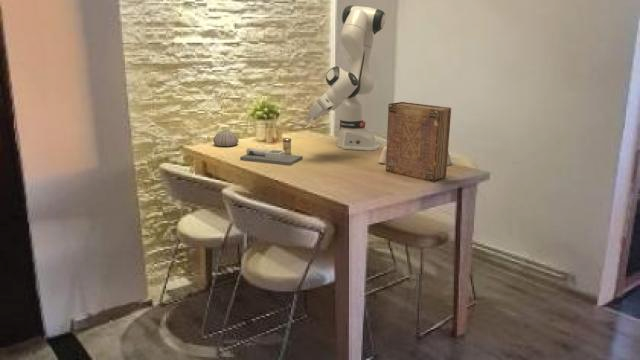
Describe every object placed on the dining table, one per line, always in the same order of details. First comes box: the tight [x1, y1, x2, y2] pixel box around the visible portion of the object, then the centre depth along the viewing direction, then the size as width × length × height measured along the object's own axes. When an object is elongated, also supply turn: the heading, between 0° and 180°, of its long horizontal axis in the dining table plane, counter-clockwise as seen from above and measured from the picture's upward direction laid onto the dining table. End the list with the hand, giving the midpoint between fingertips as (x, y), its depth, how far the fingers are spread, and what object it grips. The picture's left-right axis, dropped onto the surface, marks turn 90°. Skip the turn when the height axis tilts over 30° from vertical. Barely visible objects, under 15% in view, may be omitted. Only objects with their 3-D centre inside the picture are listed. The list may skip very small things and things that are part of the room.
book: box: [385, 101, 452, 183], centre depth 234 cm, size 25×9×30 cm, turn 46°
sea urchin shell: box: [212, 129, 239, 147], centre depth 292 cm, size 13×14×8 cm
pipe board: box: [239, 147, 304, 166], centre depth 261 cm, size 26×14×4 cm, turn 68°
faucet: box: [378, 145, 387, 165], centre depth 261 cm, size 4×18×10 cm, turn 129°
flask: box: [447, 151, 453, 166], centre depth 257 cm, size 7×7×10 cm
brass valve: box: [282, 137, 292, 155], centre depth 272 cm, size 4×4×8 cm
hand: (310, 120), depth 263 cm, fingers open, 8 cm apart
